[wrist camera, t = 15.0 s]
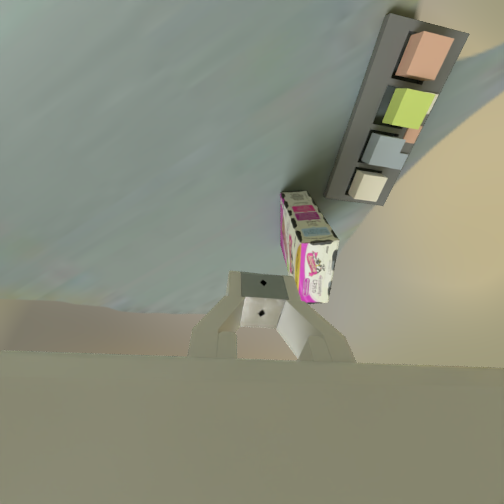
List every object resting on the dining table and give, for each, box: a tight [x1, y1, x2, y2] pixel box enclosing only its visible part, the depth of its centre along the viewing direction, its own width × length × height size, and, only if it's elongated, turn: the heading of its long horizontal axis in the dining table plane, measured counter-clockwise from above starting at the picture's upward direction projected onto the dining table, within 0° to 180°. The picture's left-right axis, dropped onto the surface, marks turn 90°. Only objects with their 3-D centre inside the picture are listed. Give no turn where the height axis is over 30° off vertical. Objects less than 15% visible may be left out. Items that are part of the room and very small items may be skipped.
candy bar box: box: [280, 191, 339, 304], centre depth 37 cm, size 11×5×16 cm, turn 4°
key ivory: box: [348, 170, 388, 202], centre depth 39 cm, size 4×4×4 cm
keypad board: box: [324, 13, 469, 206], centre depth 36 cm, size 23×11×2 cm, turn 171°
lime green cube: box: [382, 88, 436, 130], centre depth 32 cm, size 4×4×4 cm
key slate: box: [361, 133, 406, 168], centre depth 36 cm, size 4×4×4 cm
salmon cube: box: [395, 31, 454, 81], centre depth 30 cm, size 4×4×4 cm
